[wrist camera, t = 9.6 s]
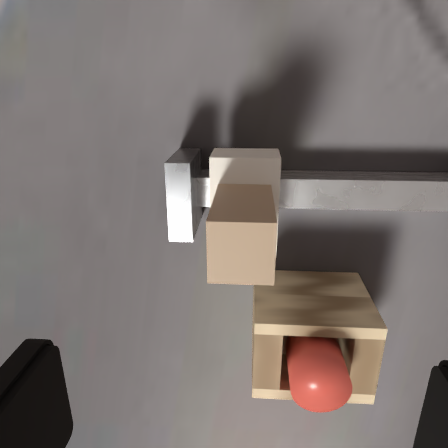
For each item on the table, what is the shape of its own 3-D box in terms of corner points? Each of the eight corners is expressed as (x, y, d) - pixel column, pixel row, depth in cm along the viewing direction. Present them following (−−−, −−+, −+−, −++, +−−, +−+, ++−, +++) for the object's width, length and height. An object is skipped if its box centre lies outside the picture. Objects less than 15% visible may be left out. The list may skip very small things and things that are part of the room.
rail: (490, 150, 25) (543, 168, 21) (472, 220, 27) (517, 250, 23) (179, 147, 27) (164, 163, 22) (182, 214, 29) (169, 241, 24)
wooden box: (357, 272, 29) (387, 329, 23) (348, 336, 32) (373, 404, 25) (254, 269, 30) (254, 323, 23) (252, 332, 32) (252, 397, 26)
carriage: (278, 148, 24) (291, 188, 15) (273, 236, 26) (283, 314, 17) (214, 148, 24) (193, 187, 16) (215, 235, 26) (197, 310, 18)
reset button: (341, 325, 25) (356, 366, 22) (335, 368, 26) (348, 414, 23) (286, 323, 25) (292, 363, 22) (283, 366, 27) (288, 410, 23)
